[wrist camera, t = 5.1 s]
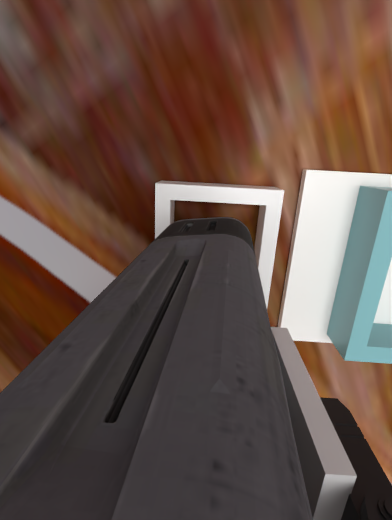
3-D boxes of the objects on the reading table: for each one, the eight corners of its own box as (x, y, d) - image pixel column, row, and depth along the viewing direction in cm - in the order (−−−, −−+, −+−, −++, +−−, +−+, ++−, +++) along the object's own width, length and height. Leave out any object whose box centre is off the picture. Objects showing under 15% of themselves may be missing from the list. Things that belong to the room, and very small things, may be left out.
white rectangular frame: (159, 312, 30) (154, 328, 27) (161, 180, 26) (155, 183, 23) (258, 318, 30) (263, 335, 27) (276, 186, 25) (284, 190, 23)
